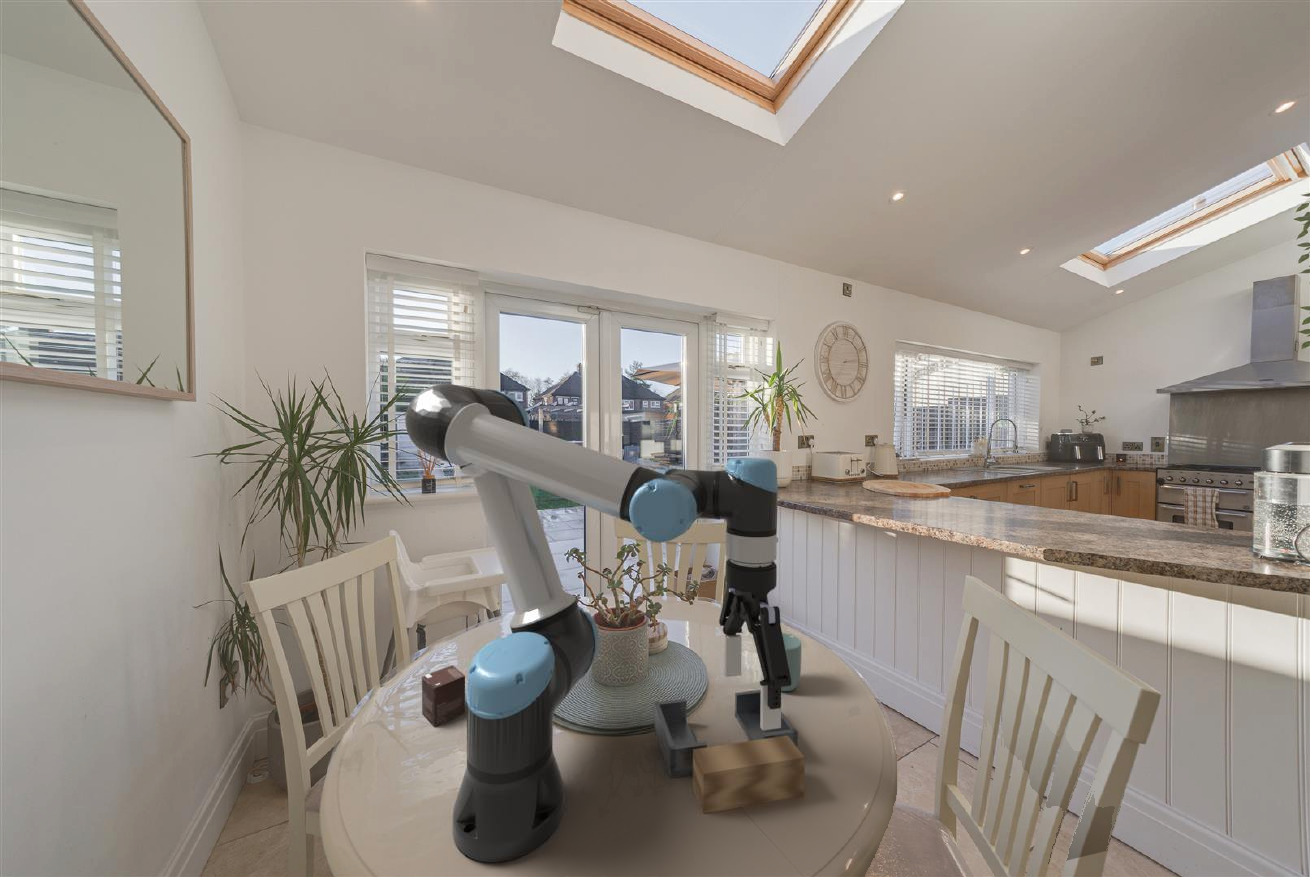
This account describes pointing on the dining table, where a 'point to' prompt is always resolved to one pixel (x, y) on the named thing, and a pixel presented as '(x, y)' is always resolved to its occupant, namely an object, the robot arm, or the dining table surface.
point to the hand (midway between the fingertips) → (749, 699)
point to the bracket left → (675, 737)
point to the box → (443, 695)
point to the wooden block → (747, 773)
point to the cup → (793, 659)
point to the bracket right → (750, 718)
